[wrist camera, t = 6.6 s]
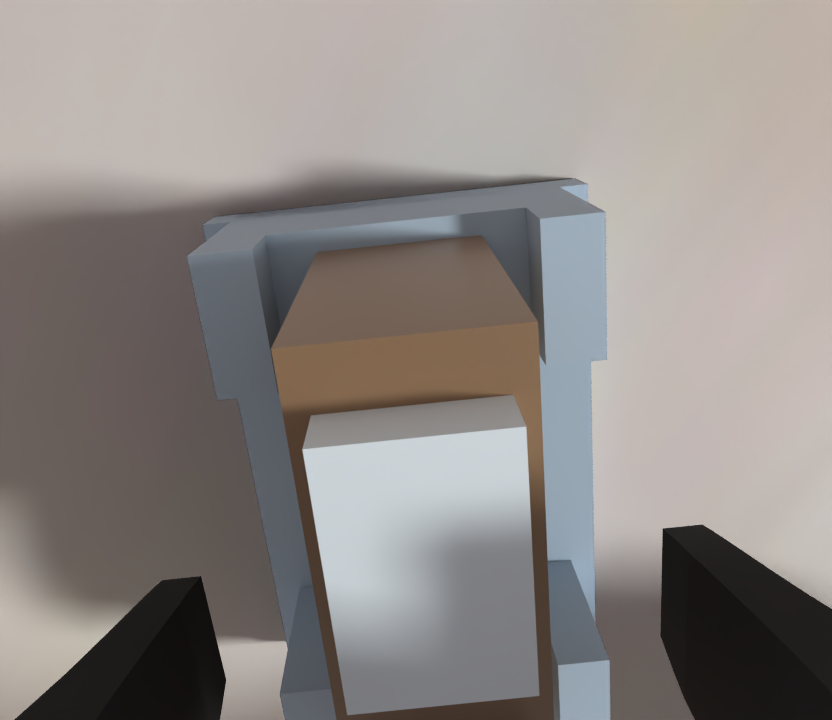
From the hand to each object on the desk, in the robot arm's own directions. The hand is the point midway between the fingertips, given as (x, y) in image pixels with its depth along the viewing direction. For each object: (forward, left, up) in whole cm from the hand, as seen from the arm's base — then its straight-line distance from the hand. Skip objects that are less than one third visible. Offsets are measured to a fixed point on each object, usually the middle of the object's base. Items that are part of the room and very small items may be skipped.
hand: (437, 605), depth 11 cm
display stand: (0, 0, -6) cm, 6 cm away
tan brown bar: (0, 0, -3) cm, 3 cm away
